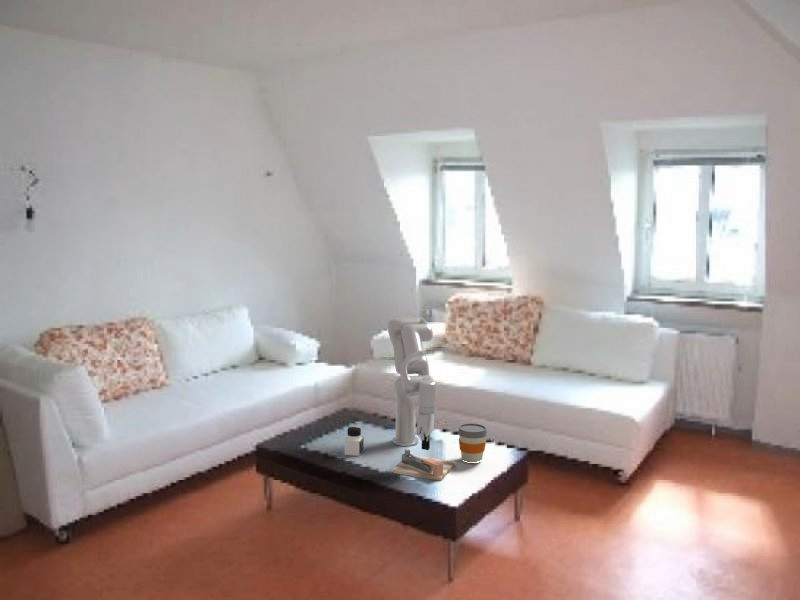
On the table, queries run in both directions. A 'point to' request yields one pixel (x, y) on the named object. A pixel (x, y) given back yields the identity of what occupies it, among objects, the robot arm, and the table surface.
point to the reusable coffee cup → (472, 441)
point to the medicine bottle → (354, 441)
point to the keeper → (435, 466)
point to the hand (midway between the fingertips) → (425, 448)
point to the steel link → (416, 462)
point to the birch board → (415, 471)
